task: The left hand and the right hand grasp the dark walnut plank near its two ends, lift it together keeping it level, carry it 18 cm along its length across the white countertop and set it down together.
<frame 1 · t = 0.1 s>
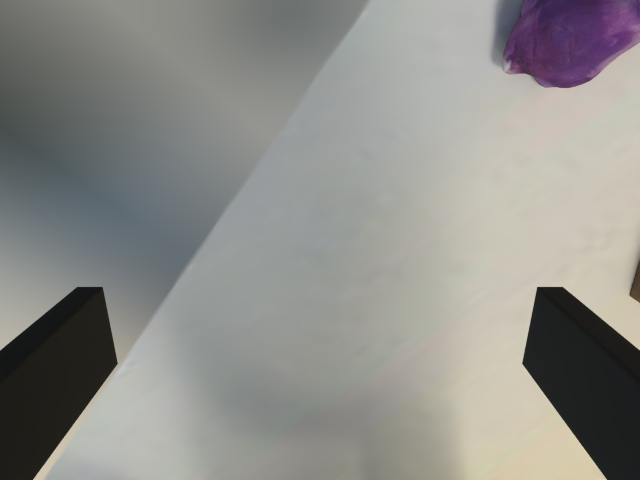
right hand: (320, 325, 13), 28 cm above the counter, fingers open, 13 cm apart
figurine: (562, 23, 35), on the counter
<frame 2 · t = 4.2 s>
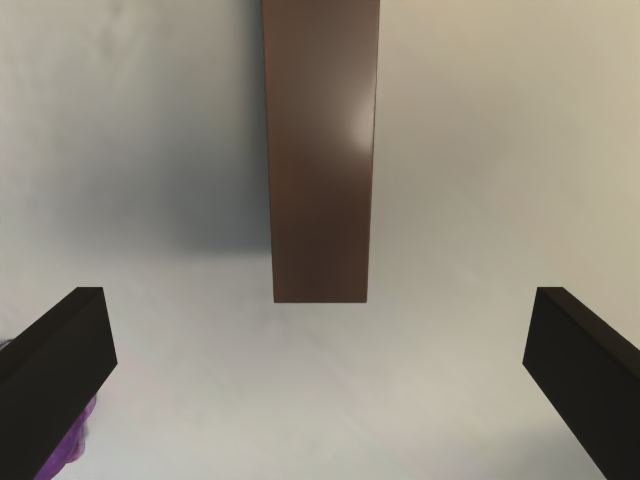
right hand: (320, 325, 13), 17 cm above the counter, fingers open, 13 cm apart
figurine: (36, 387, 34), on the counter
when the left hand's fingers open (5 cm above the counter, at t = 13.3 s): plank stays where it is, on the counter.
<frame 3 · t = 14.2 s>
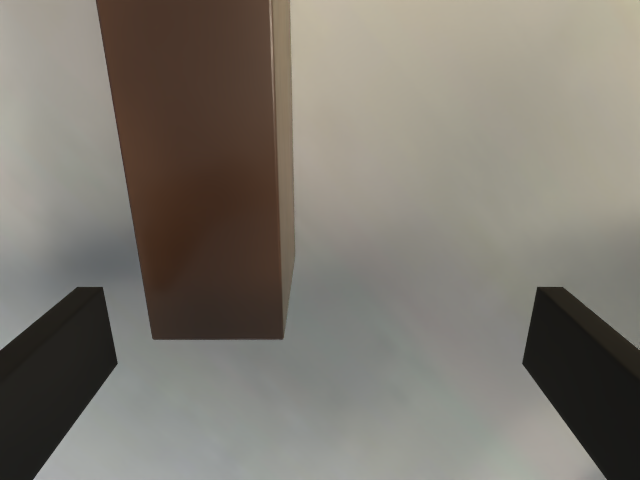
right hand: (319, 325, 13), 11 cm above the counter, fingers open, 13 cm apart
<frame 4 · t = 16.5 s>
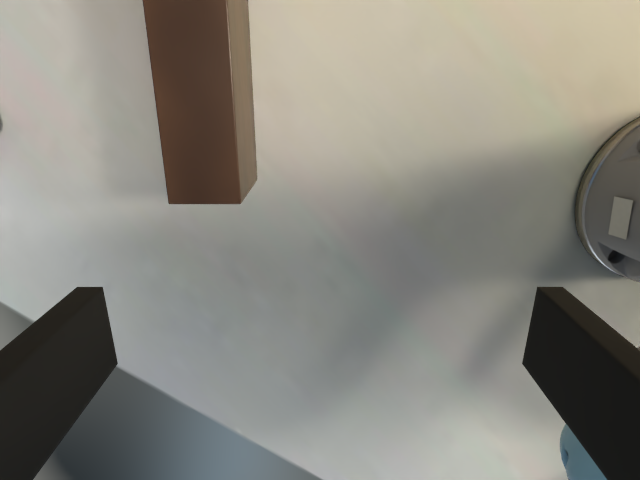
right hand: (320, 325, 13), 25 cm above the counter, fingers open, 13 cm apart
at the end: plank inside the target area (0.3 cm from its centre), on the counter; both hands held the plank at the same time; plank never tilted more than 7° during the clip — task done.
